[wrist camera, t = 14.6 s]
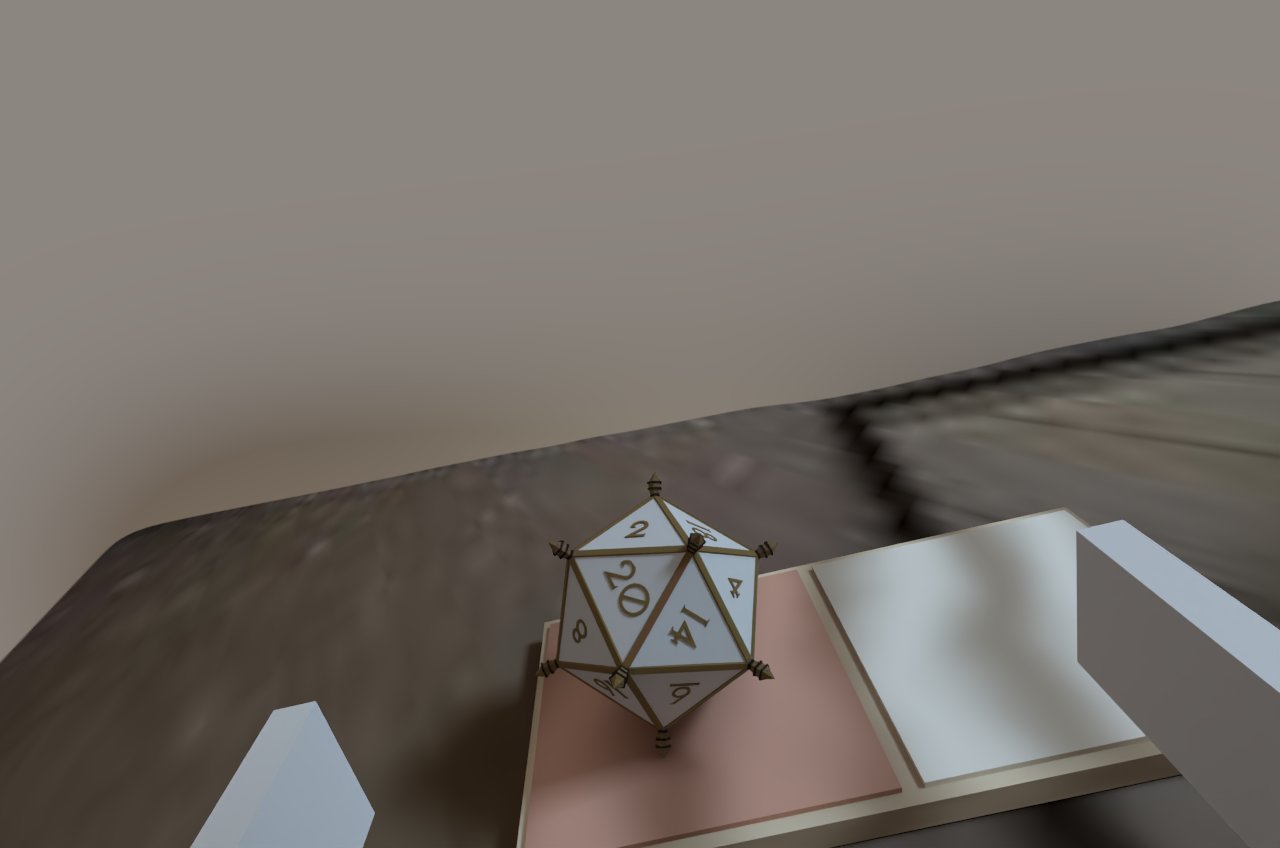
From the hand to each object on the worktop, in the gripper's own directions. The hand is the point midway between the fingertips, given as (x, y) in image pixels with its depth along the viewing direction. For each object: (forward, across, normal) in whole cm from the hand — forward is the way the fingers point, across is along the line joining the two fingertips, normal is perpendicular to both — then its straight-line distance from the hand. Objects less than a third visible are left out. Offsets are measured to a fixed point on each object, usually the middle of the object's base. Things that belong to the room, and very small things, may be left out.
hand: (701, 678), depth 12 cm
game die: (+11, -2, -11) cm, 16 cm away
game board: (+12, +5, -12) cm, 17 cm away
